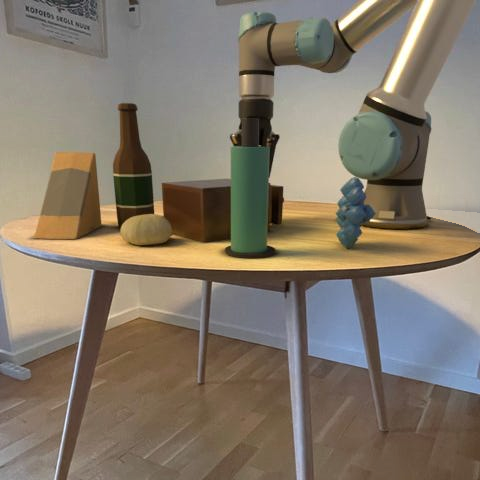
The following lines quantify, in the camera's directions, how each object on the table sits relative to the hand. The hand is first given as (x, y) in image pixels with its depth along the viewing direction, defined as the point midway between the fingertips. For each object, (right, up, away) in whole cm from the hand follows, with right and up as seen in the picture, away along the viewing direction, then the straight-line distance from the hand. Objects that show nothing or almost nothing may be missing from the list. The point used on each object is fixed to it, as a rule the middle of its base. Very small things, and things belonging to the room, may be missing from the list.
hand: (254, 211), depth 109 cm
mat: (-2, -14, -30) cm, 33 cm away
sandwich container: (-38, -8, -14) cm, 41 cm away
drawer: (-3, -5, -9) cm, 11 cm away
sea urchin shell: (-20, -11, -23) cm, 33 cm away
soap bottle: (-2, -14, -31) cm, 34 cm away
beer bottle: (-25, -6, -9) cm, 27 cm away
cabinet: (-8, -7, -13) cm, 17 cm away
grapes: (+16, -13, -27) cm, 34 cm away
